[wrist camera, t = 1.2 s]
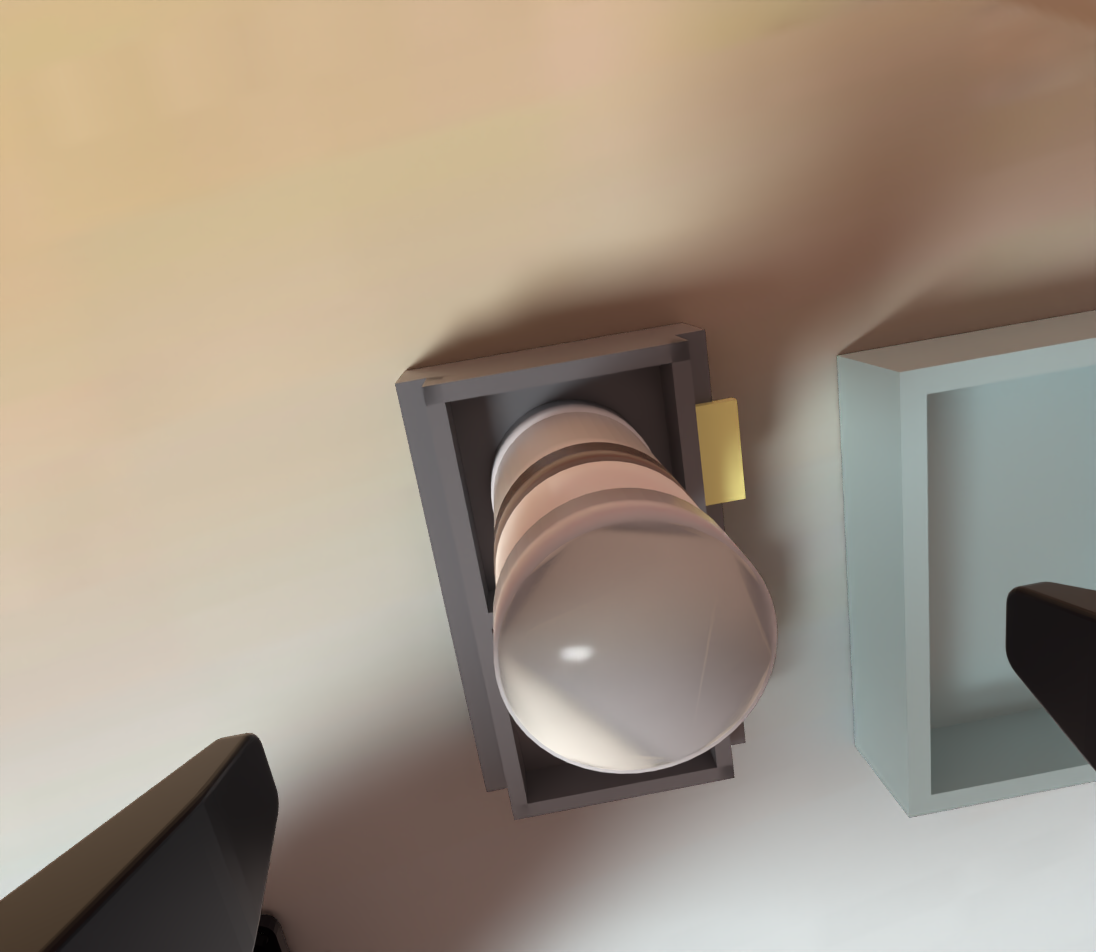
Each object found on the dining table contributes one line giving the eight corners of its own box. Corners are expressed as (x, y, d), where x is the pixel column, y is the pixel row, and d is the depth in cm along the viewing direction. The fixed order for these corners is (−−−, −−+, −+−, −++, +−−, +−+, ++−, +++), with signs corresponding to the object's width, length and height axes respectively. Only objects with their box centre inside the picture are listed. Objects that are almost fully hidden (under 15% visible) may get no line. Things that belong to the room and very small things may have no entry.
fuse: (657, 536, 18) (786, 745, 10) (506, 563, 18) (520, 797, 10) (638, 386, 17) (766, 492, 9) (477, 414, 17) (467, 546, 9)
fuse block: (739, 696, 21) (781, 768, 18) (487, 744, 21) (486, 825, 18) (701, 319, 18) (744, 330, 15) (404, 371, 18) (388, 392, 15)
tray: (1145, 690, 23) (1240, 752, 20) (855, 746, 22) (909, 817, 19) (1179, 295, 19) (1301, 301, 16) (836, 355, 19) (899, 372, 16)
